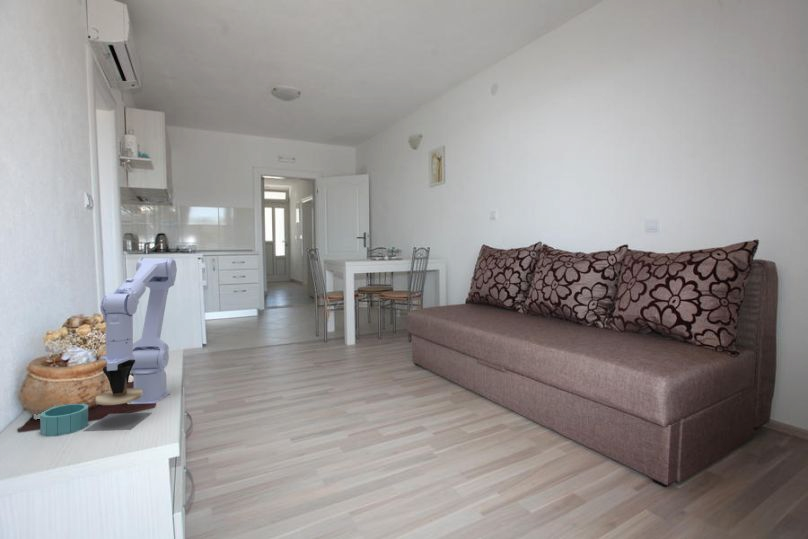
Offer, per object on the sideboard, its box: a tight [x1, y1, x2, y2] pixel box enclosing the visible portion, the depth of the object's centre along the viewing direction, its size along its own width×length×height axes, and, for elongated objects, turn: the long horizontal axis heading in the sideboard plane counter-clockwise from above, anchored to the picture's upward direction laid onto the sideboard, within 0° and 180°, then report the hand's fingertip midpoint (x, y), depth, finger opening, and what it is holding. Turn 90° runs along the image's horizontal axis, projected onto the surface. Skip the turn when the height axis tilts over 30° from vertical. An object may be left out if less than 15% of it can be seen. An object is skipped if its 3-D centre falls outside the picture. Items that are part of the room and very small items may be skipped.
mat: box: [83, 412, 153, 432], centre depth 104 cm, size 11×11×1 cm
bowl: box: [39, 403, 89, 437], centre depth 100 cm, size 9×9×5 cm
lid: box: [95, 378, 143, 406], centre depth 104 cm, size 10×10×5 cm
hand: (119, 390), depth 104 cm, fingers closed on lid, 3 cm apart
